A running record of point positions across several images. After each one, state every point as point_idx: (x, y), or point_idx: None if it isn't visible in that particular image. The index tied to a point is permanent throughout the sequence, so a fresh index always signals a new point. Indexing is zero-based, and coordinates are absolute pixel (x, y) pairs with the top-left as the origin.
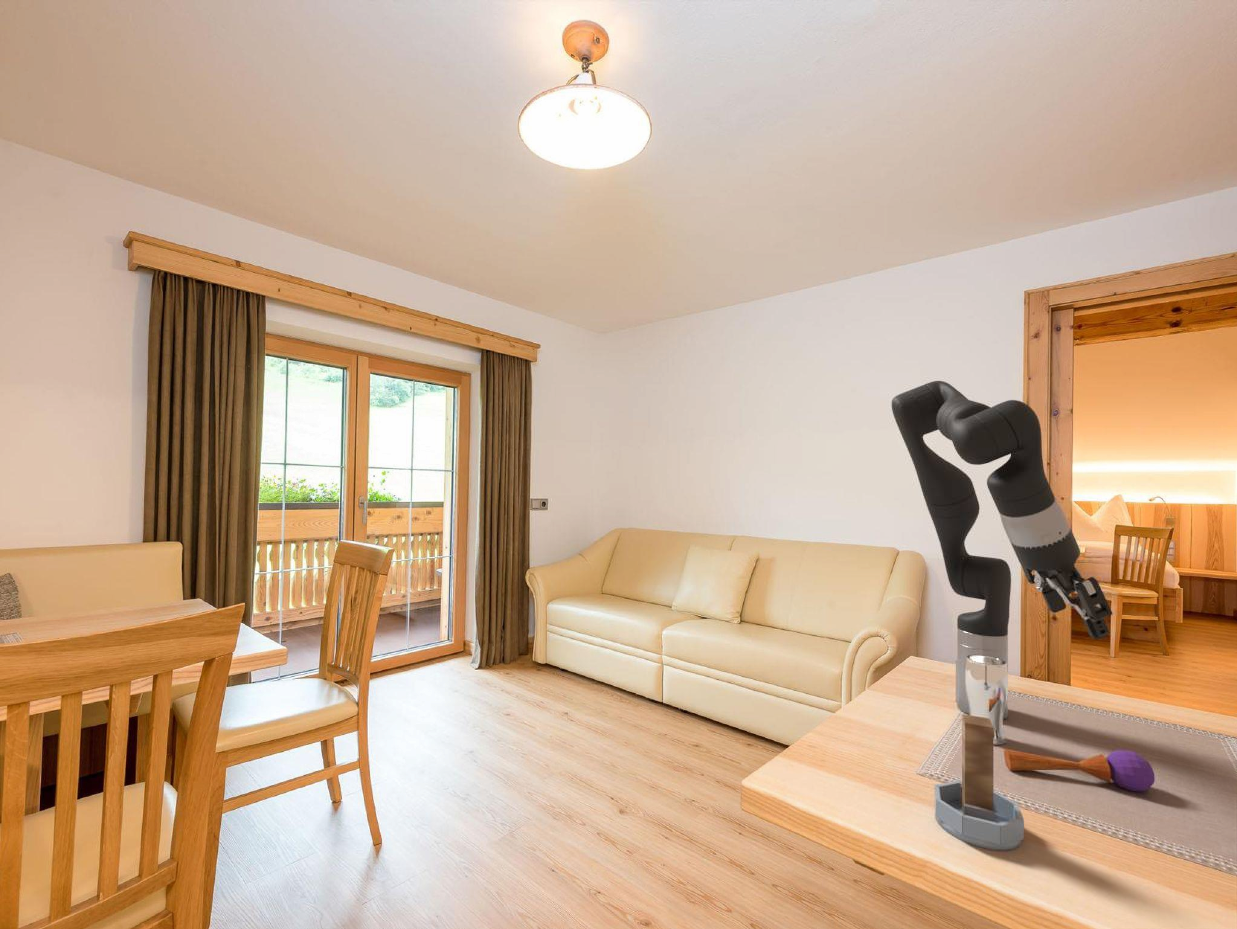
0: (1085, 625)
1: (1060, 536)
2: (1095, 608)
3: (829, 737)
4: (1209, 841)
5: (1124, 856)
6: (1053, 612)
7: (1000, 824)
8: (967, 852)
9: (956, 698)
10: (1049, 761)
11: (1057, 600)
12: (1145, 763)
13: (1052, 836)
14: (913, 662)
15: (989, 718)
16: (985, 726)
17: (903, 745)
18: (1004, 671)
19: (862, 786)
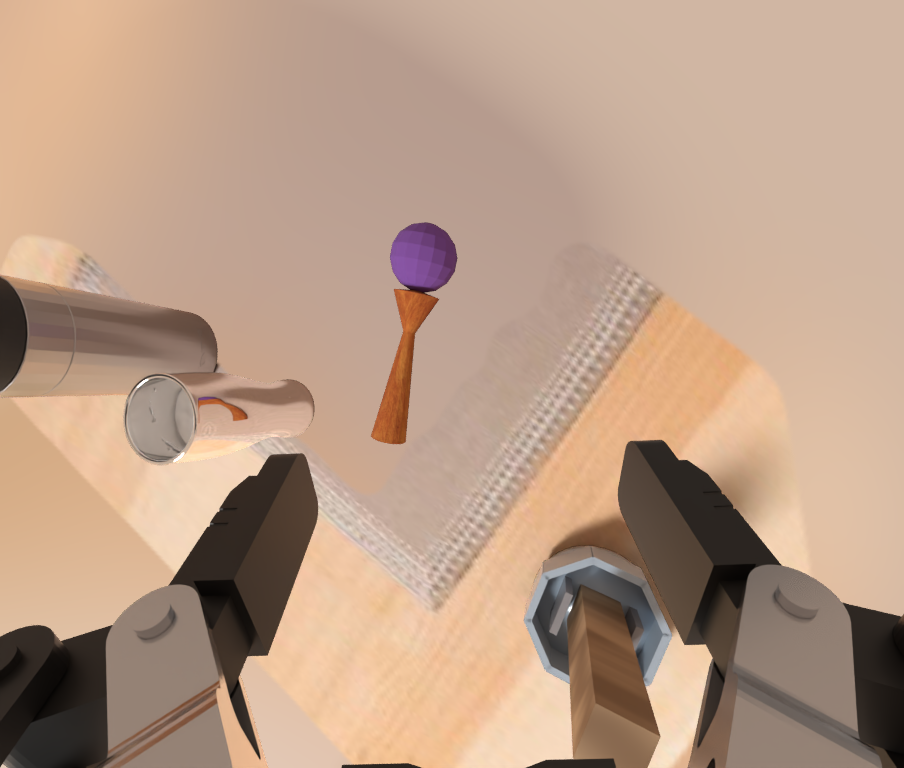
0: (652, 577)
1: None
2: (875, 702)
3: (325, 705)
4: (580, 254)
5: (642, 419)
6: (316, 513)
7: (668, 633)
8: (667, 664)
9: None
10: (404, 380)
11: (282, 526)
12: (437, 237)
13: (601, 497)
14: None
15: (282, 419)
16: (653, 752)
17: (337, 579)
18: (205, 393)
19: (491, 732)
